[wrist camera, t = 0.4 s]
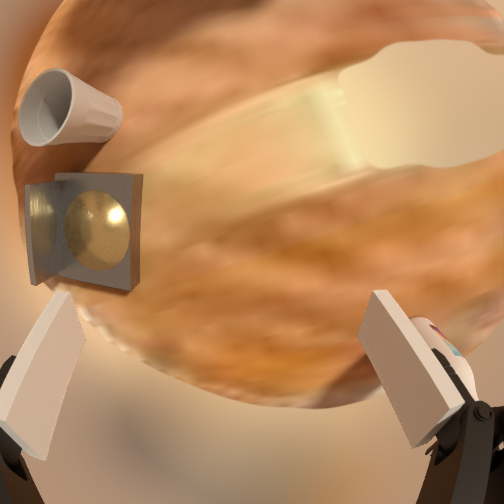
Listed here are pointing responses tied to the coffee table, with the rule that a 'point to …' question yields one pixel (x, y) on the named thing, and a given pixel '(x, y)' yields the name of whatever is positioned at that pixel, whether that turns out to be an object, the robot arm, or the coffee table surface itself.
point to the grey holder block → (85, 228)
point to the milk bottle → (446, 351)
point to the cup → (66, 111)
